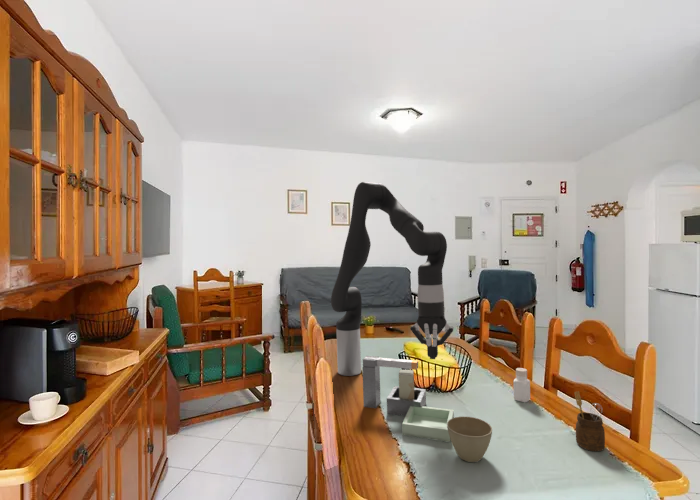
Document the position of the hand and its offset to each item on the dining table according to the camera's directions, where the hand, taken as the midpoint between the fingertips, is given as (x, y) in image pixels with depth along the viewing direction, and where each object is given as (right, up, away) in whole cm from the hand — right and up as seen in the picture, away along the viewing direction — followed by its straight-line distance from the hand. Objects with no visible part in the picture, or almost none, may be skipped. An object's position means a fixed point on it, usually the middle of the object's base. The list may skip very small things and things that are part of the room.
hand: (432, 358), depth 112 cm
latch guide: (-17, -16, +7) cm, 25 cm away
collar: (-7, -16, +3) cm, 18 cm away
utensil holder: (+33, -15, -20) cm, 42 cm away
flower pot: (+4, -16, -23) cm, 29 cm away
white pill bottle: (+29, -15, +7) cm, 34 cm away
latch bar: (-12, -4, +4) cm, 13 cm away
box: (-7, -16, +3) cm, 18 cm away
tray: (-3, -16, -9) cm, 19 cm away
